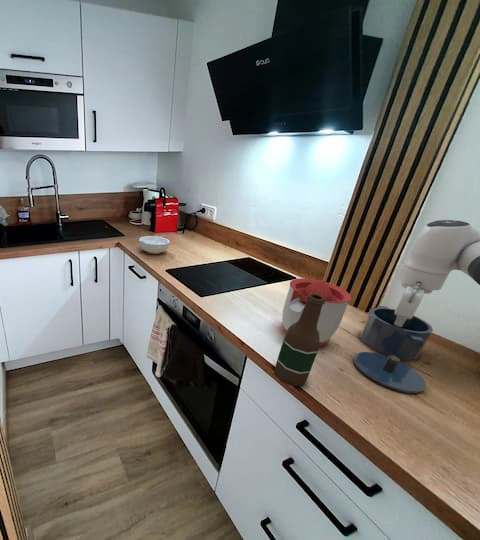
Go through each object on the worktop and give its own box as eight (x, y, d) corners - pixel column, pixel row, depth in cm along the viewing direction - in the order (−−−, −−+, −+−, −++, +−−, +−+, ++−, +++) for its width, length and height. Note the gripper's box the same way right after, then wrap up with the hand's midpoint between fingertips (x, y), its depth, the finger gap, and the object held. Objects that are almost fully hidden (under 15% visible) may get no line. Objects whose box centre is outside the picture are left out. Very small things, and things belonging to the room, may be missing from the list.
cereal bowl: (174, 251, 162) (175, 240, 160) (157, 259, 151) (158, 246, 148) (150, 244, 173) (150, 233, 170) (132, 251, 161) (133, 239, 158)
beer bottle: (311, 379, 74) (343, 299, 65) (296, 392, 70) (328, 308, 61) (282, 362, 80) (307, 286, 70) (266, 373, 76) (291, 293, 66)
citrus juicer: (262, 329, 95) (277, 274, 87) (296, 318, 101) (313, 266, 93) (306, 358, 82) (329, 297, 74) (343, 344, 88) (367, 287, 80)
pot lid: (403, 361, 82) (411, 346, 80) (438, 401, 69) (448, 385, 67) (344, 350, 86) (350, 336, 83) (367, 386, 73) (375, 370, 71)
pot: (396, 332, 95) (408, 307, 92) (435, 371, 79) (452, 343, 75) (349, 324, 99) (359, 300, 95) (377, 360, 82) (390, 332, 78)
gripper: (433, 292, 71) (409, 338, 76) (440, 272, 83) (419, 313, 89) (400, 283, 75) (379, 327, 81) (410, 266, 88) (392, 304, 93)
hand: (400, 319), depth 85 cm, fingers open, 8 cm apart
